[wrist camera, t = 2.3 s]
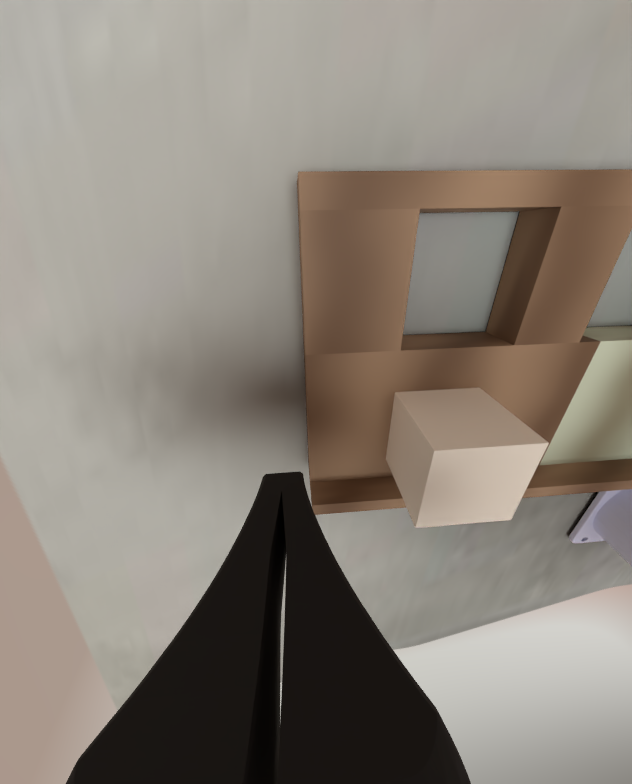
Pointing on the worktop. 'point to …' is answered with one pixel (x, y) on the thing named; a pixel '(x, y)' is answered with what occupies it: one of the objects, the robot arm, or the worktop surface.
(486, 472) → the cream block
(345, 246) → the trap deck
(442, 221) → the worktop surface
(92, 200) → the worktop surface
